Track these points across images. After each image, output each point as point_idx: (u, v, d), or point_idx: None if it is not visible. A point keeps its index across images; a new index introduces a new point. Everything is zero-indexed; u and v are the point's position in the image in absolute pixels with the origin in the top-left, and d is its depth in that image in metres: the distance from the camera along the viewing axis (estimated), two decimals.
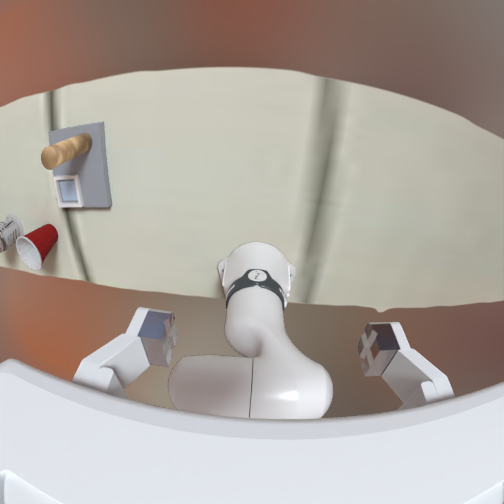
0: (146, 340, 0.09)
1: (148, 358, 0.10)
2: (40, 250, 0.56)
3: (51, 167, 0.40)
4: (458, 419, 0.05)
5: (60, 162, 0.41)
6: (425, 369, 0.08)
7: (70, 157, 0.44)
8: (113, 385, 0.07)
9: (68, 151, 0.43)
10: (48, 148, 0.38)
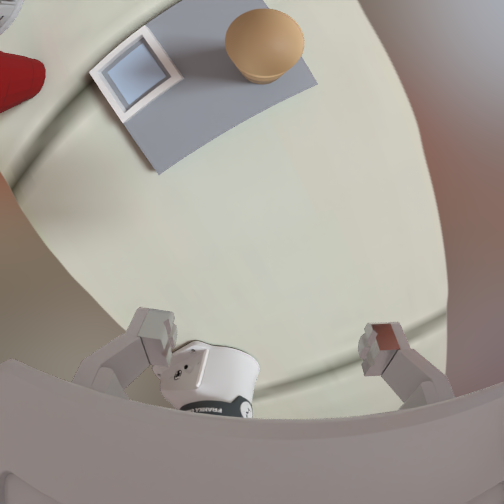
0: (146, 340, 0.09)
1: (148, 358, 0.10)
2: None
3: (239, 60, 0.13)
4: (458, 419, 0.05)
5: (256, 76, 0.15)
6: (425, 369, 0.08)
7: (257, 79, 0.18)
8: (113, 385, 0.07)
9: (279, 75, 0.17)
10: (296, 31, 0.12)
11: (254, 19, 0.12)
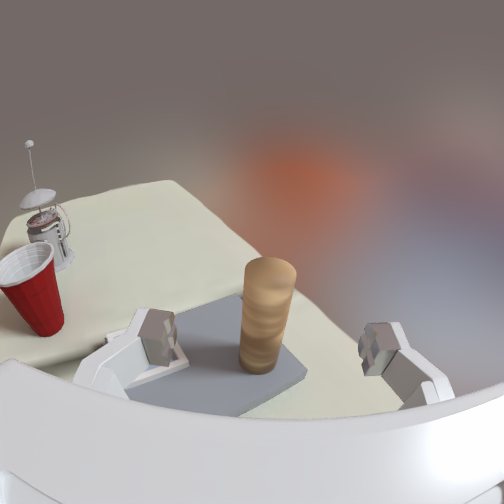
0: (146, 340, 0.09)
1: (148, 358, 0.10)
2: (25, 288, 0.25)
3: (255, 280, 0.23)
4: (458, 419, 0.05)
5: (266, 302, 0.23)
6: (425, 369, 0.08)
7: (262, 328, 0.25)
8: (113, 385, 0.07)
9: (280, 318, 0.25)
10: (289, 266, 0.25)
11: (262, 261, 0.26)
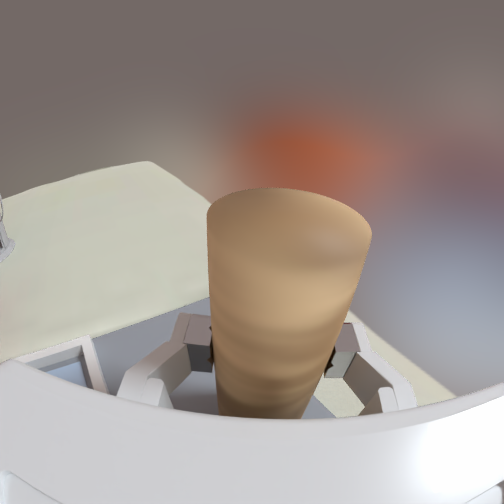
0: (192, 347, 0.09)
1: (191, 365, 0.10)
2: None
3: (241, 237, 0.06)
4: (458, 419, 0.05)
5: (282, 320, 0.07)
6: (385, 374, 0.08)
7: (268, 388, 0.08)
8: (163, 396, 0.07)
9: (321, 359, 0.08)
10: (342, 206, 0.08)
11: (263, 195, 0.09)
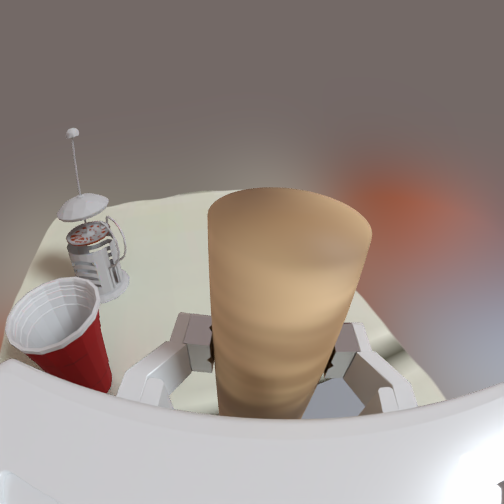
0: (192, 347, 0.09)
1: (191, 365, 0.10)
2: (53, 357, 0.17)
3: (242, 237, 0.06)
4: (458, 419, 0.05)
5: (283, 319, 0.07)
6: (385, 374, 0.08)
7: (269, 387, 0.08)
8: (163, 396, 0.07)
9: (321, 359, 0.08)
10: (342, 206, 0.08)
11: (263, 194, 0.09)
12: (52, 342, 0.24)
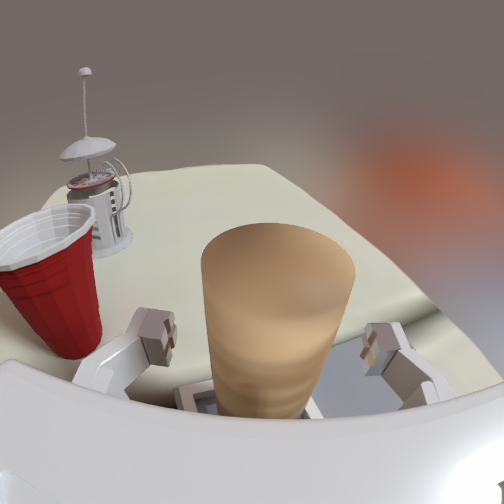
0: (146, 340, 0.09)
1: (148, 358, 0.10)
2: (27, 279, 0.13)
3: (232, 287, 0.07)
4: (458, 419, 0.05)
5: (269, 356, 0.07)
6: (425, 369, 0.08)
7: (261, 407, 0.09)
8: (113, 385, 0.07)
9: (308, 383, 0.09)
10: (330, 244, 0.09)
11: (254, 233, 0.09)
12: None
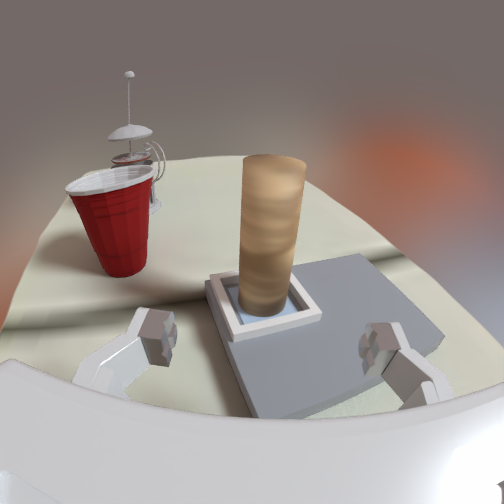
0: (146, 340, 0.09)
1: (148, 358, 0.10)
2: (111, 201, 0.24)
3: (257, 165, 0.18)
4: (458, 419, 0.05)
5: (271, 194, 0.18)
6: (425, 369, 0.08)
7: (267, 237, 0.20)
8: (113, 385, 0.07)
9: (290, 222, 0.20)
10: (297, 160, 0.20)
11: (264, 156, 0.20)
12: None
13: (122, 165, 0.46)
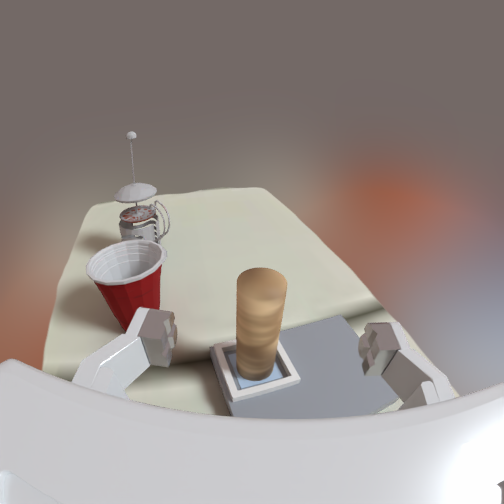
0: (146, 340, 0.09)
1: (148, 358, 0.10)
2: (129, 288, 0.30)
3: (247, 291, 0.24)
4: (458, 419, 0.05)
5: (258, 313, 0.24)
6: (425, 369, 0.08)
7: (256, 337, 0.26)
8: (113, 385, 0.07)
9: (273, 327, 0.26)
10: (280, 276, 0.26)
11: (254, 272, 0.26)
12: None
13: None
